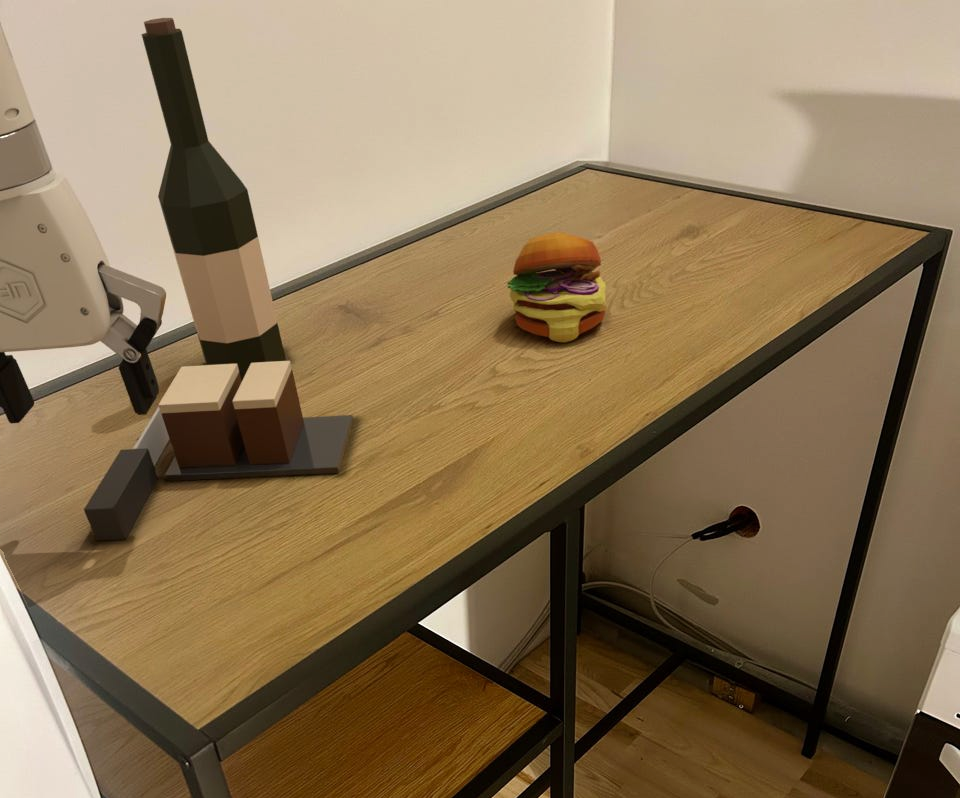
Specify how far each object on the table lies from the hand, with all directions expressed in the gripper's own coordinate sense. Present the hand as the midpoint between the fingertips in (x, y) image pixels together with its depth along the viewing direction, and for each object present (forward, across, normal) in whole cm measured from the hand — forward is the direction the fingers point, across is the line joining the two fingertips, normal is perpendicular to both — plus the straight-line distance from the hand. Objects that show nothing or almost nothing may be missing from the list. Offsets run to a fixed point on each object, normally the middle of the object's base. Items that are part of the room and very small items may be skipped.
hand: (84, 410), depth 71 cm
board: (+10, +9, +10) cm, 17 cm away
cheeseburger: (+10, +36, +34) cm, 50 cm away
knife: (+10, 0, +6) cm, 12 cm away
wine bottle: (+10, +4, +28) cm, 30 cm away
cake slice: (+9, +10, +10) cm, 17 cm away
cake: (+9, +5, +10) cm, 15 cm away
